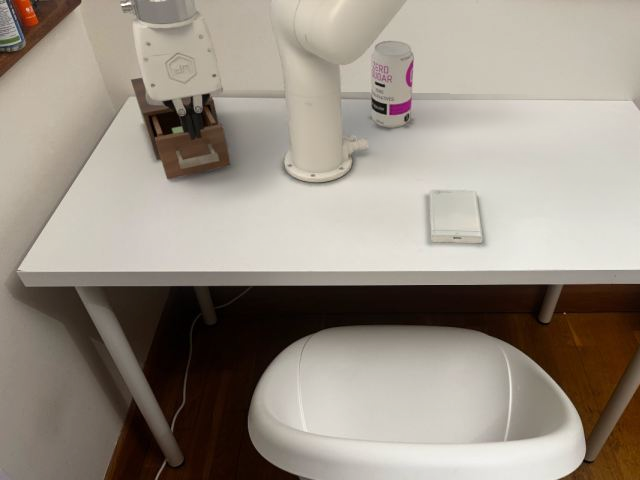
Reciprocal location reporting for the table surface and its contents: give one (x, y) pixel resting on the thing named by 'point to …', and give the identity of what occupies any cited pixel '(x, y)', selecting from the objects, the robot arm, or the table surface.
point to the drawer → (189, 145)
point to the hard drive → (454, 216)
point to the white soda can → (391, 83)
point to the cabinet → (159, 110)
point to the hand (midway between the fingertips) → (194, 134)
